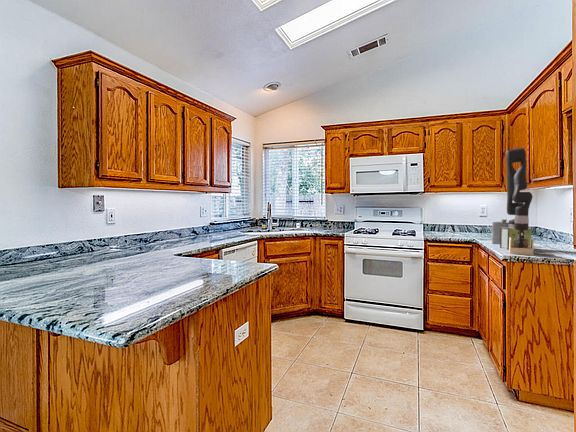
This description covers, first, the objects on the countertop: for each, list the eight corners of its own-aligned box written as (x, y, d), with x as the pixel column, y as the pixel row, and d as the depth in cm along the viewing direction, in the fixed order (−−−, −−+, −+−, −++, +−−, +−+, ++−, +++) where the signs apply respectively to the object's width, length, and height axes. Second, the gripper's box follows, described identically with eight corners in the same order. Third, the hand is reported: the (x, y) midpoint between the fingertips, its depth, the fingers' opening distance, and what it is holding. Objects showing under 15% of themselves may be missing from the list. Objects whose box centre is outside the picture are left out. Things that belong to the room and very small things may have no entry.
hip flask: (515, 245, 257) (516, 219, 256) (515, 245, 254) (516, 219, 253) (492, 243, 268) (492, 218, 267) (491, 243, 265) (492, 219, 264)
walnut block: (513, 252, 219) (514, 238, 219) (526, 252, 215) (527, 239, 215) (514, 253, 215) (514, 239, 214) (527, 253, 211) (528, 239, 211)
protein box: (531, 250, 228) (532, 228, 227) (508, 250, 228) (509, 228, 227) (520, 248, 238) (521, 227, 238) (499, 248, 239) (499, 227, 238)
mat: (535, 253, 215) (535, 252, 215) (553, 255, 210) (553, 254, 210) (537, 256, 206) (537, 255, 206) (556, 257, 202) (556, 256, 202)
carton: (508, 251, 224) (509, 237, 224) (531, 253, 218) (531, 238, 217) (509, 254, 213) (510, 239, 212) (533, 256, 206) (533, 240, 206)
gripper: (513, 221, 222) (513, 246, 223) (515, 223, 210) (514, 248, 211) (527, 222, 218) (526, 246, 219) (529, 223, 206) (528, 249, 207)
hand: (520, 247), depth 215 cm, fingers open, 7 cm apart
